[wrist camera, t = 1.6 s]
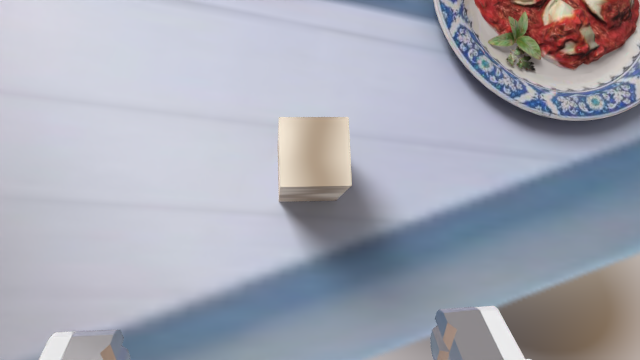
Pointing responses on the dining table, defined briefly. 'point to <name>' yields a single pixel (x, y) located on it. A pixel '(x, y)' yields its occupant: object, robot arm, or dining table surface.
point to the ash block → (313, 158)
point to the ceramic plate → (550, 52)
